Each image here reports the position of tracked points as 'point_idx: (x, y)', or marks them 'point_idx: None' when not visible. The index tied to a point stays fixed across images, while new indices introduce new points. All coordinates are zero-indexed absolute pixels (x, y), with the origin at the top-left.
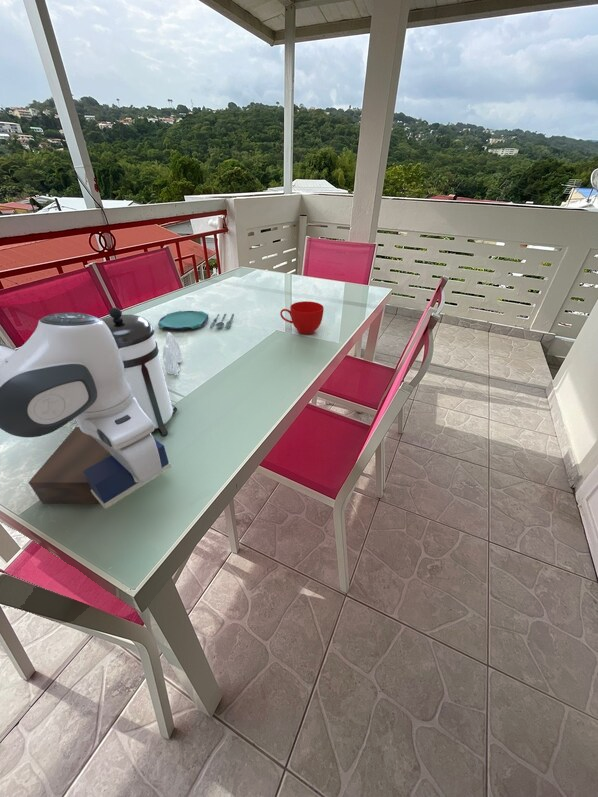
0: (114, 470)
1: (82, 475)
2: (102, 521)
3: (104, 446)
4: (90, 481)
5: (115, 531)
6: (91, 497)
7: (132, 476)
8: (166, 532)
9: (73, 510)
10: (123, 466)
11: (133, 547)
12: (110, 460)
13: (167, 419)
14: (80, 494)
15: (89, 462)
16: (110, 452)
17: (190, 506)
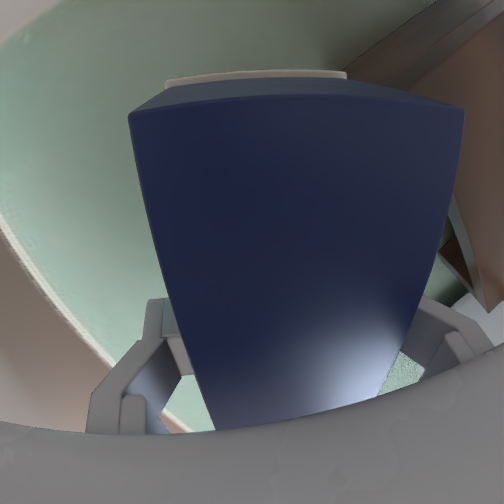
0: (219, 329)
1: (459, 103)
2: (232, 51)
3: (465, 417)
4: (305, 88)
5: (146, 73)
6: (360, 70)
7: (156, 331)
8: (40, 213)
9: (367, 11)
10: (215, 377)
11: (43, 112)
12: (371, 324)
13: (418, 366)
14: (397, 50)
15: (490, 166)
16: (357, 459)
17: (94, 297)
